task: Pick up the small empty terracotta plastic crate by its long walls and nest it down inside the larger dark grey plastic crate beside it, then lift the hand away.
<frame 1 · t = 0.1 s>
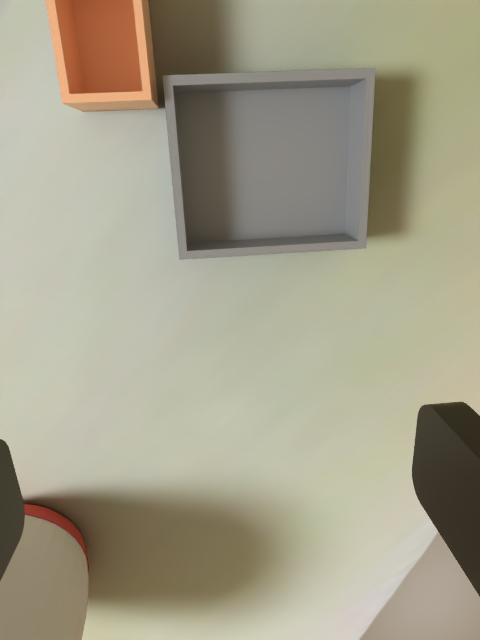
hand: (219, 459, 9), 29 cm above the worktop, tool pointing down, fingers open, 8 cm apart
small crate: (113, 47, 31), on the worktop
large crate: (264, 167, 35), on the worktop
citrus juicer: (22, 549, 46), on the worktop
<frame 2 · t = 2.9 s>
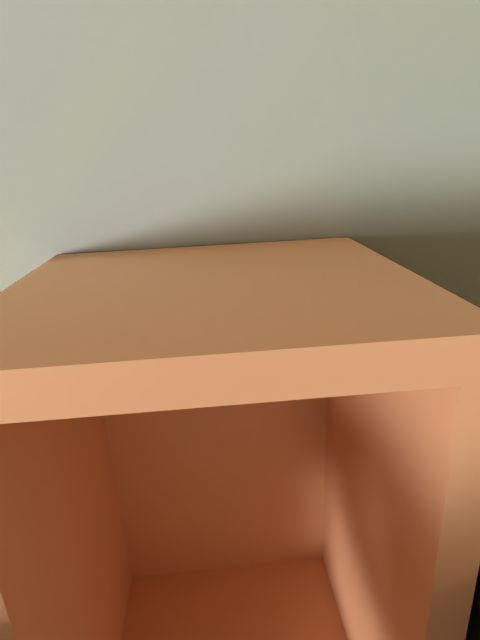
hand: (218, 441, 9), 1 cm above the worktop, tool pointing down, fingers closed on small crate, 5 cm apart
small crate: (218, 425, 10), on the worktop, touching gripper
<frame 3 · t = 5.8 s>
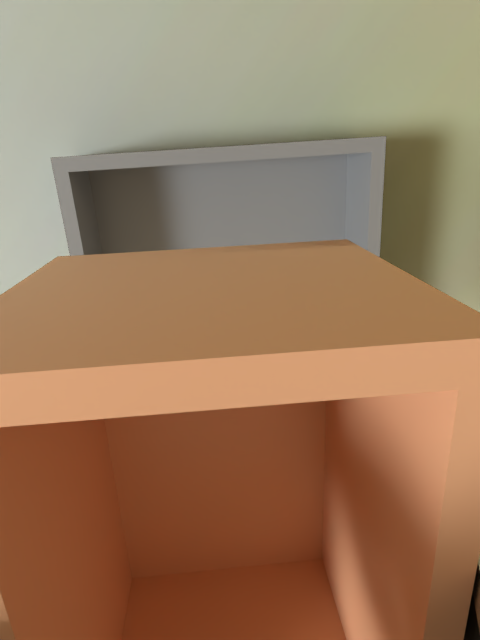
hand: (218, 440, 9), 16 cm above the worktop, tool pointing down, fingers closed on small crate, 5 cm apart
small crate: (218, 427, 10), point 15 cm above the worktop, touching gripper
large crate: (226, 264, 24), on the worktop
when the fingers open (4 cm above the worktop, at t = 8.7 s): small crate drops 3 cm, resting on large crate.
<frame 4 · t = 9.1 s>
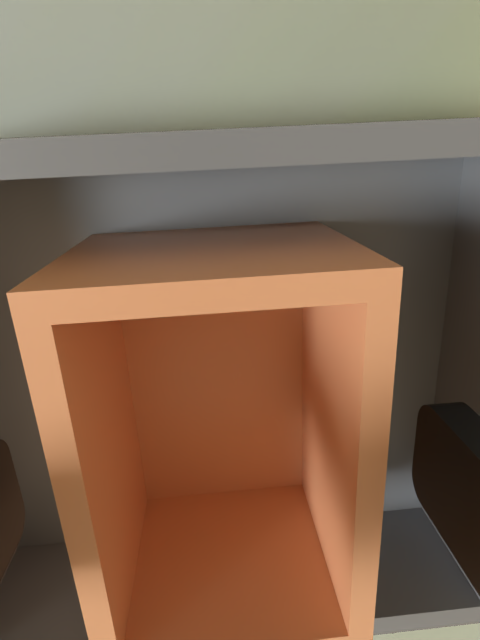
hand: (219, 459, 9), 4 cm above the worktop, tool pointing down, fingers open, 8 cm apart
small crate: (217, 374, 12), point 1 cm above the worktop, touching large crate
large crate: (214, 364, 13), on the worktop
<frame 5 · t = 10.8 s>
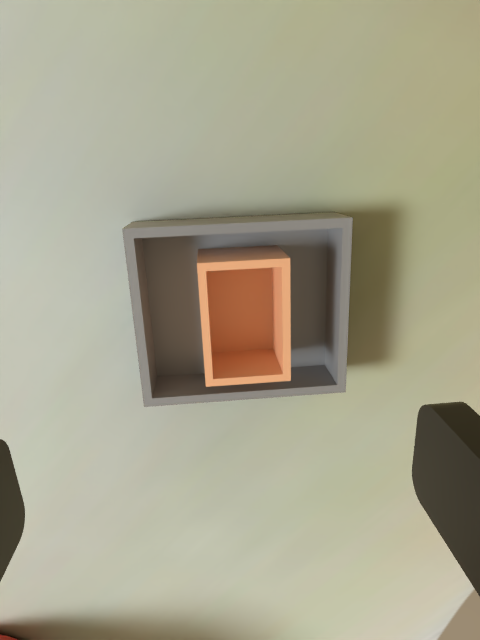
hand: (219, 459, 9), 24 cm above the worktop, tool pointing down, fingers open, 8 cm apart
small crate: (240, 302, 32), point 1 cm above the worktop, touching large crate
large crate: (238, 300, 32), on the worktop
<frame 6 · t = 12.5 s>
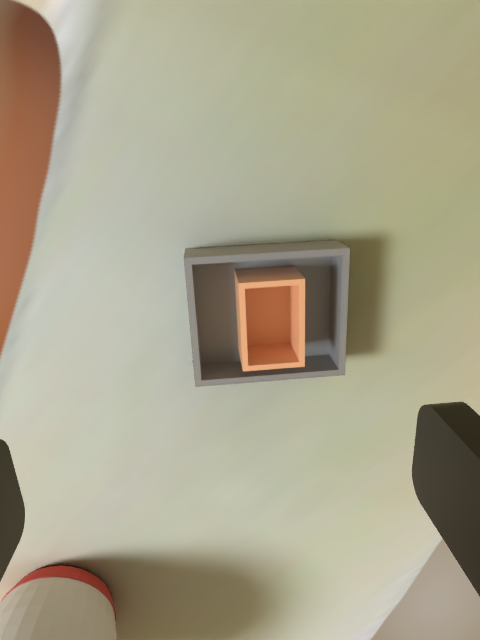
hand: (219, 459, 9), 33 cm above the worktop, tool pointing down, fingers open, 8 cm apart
small crate: (265, 308, 42), point 1 cm above the worktop, touching large crate
large crate: (263, 306, 43), on the worktop
citrus juicer: (59, 601, 54), on the worktop
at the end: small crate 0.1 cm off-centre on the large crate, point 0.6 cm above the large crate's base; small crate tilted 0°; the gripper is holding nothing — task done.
